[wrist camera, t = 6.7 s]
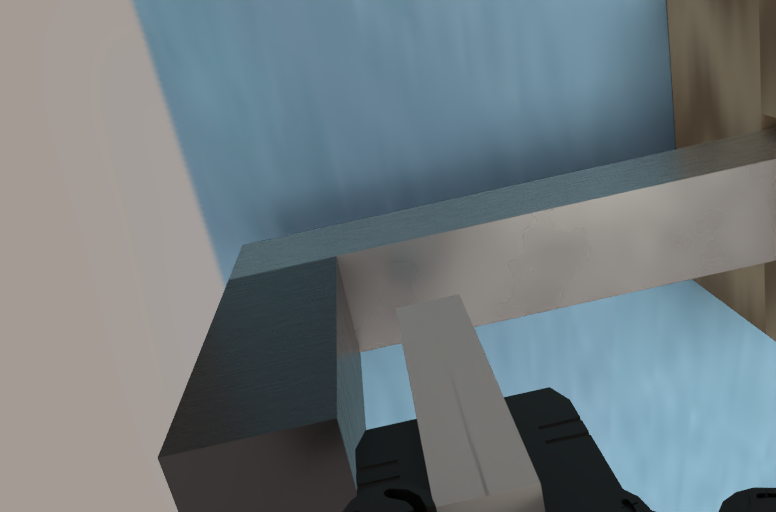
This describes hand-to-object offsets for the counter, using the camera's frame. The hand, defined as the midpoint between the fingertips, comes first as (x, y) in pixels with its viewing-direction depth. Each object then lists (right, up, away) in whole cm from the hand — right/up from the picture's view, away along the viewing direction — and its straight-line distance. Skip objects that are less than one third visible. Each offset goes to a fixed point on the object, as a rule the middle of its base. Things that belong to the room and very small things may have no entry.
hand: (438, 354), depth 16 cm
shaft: (+7, +4, +7) cm, 10 cm away
